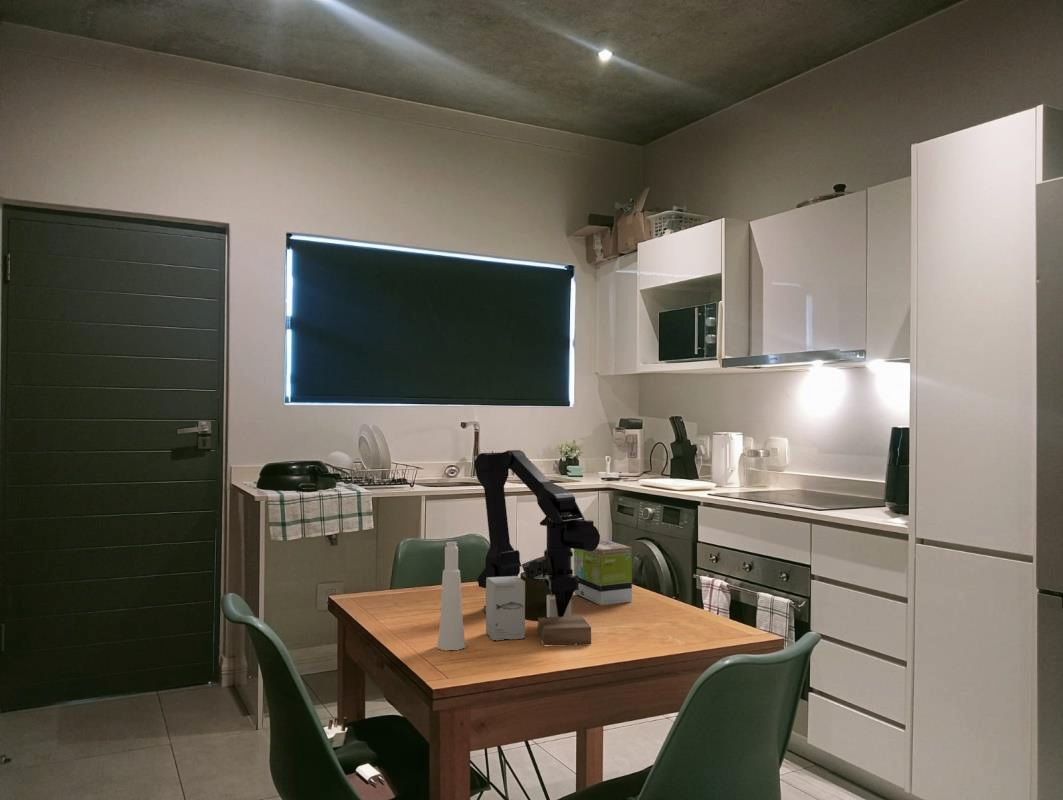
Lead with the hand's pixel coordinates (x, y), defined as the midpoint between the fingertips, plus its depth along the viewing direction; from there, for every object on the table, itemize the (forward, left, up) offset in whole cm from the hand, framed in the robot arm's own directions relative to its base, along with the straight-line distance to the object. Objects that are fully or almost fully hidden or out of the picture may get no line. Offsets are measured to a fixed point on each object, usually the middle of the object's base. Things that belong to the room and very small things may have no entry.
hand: (558, 613), depth 190 cm
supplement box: (+7, -13, -3) cm, 15 cm away
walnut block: (+11, 0, -3) cm, 11 cm away
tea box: (-28, +16, -3) cm, 32 cm away
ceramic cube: (0, 0, -1) cm, 1 cm away
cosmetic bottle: (+15, -25, -3) cm, 29 cm away
